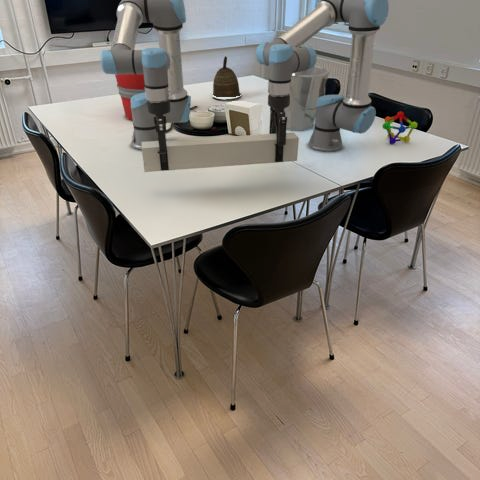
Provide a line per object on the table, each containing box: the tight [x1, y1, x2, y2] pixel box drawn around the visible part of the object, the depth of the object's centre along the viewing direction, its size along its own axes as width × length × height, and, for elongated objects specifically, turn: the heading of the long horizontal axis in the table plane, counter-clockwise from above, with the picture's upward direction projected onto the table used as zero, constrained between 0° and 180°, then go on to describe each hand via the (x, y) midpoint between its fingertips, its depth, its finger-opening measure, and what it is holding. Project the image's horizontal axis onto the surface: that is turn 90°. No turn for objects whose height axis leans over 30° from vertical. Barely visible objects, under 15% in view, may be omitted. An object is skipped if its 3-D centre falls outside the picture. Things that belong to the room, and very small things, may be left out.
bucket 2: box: [284, 65, 330, 131], centre depth 226 cm, size 30×30×28 cm
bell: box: [212, 56, 242, 97], centre depth 278 cm, size 19×26×20 cm
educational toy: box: [382, 110, 418, 145], centre depth 207 cm, size 16×13×15 cm
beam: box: [141, 131, 300, 173], centre depth 158 cm, size 55×6×9 cm, turn 101°
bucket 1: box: [114, 74, 145, 122], centre depth 239 cm, size 35×35×30 cm
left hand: (164, 165), depth 156 cm, fingers closed on beam, 6 cm apart
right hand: (276, 157), depth 163 cm, fingers closed on beam, 6 cm apart
